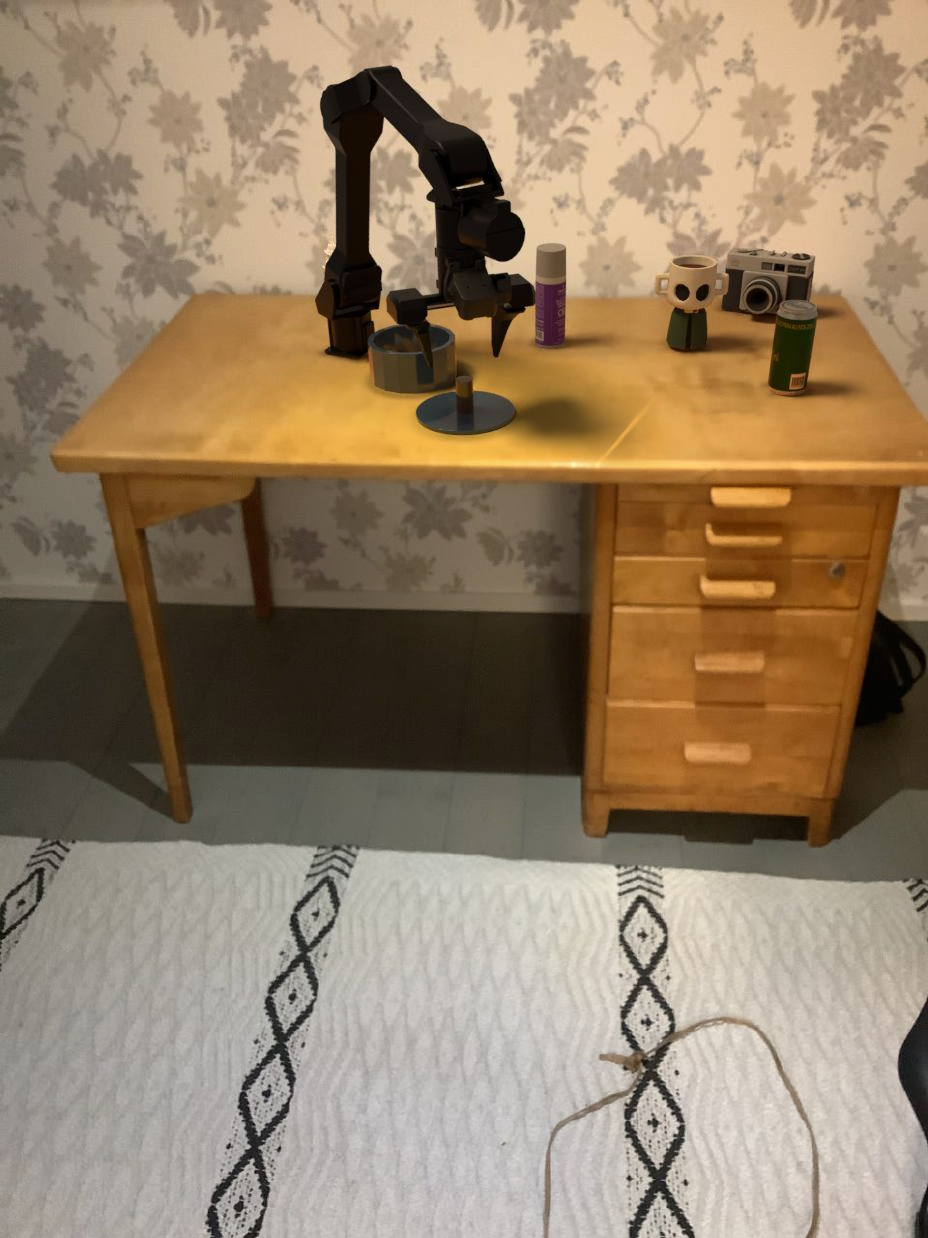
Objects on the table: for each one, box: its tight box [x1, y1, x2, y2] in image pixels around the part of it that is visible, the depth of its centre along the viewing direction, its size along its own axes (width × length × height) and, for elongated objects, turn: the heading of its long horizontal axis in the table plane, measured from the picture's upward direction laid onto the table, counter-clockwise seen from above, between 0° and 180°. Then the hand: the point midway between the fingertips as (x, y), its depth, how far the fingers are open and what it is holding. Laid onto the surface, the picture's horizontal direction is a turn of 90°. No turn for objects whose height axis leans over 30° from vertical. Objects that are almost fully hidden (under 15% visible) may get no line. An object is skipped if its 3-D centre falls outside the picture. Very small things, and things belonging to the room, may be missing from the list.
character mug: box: [653, 254, 729, 350], centre depth 166 cm, size 11×7×13 cm, turn 84°
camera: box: [721, 247, 816, 318], centre depth 177 cm, size 14×9×10 cm, turn 55°
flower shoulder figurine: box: [322, 235, 336, 275], centre depth 185 cm, size 9×4×12 cm, turn 171°
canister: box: [367, 323, 458, 395], centre depth 160 cm, size 13×13×6 cm
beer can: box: [767, 300, 819, 397], centre depth 151 cm, size 5×5×12 cm
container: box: [534, 242, 567, 350], centre depth 168 cm, size 5×5×15 cm
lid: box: [415, 375, 516, 436], centre depth 149 cm, size 14×14×6 cm
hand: (463, 361), depth 146 cm, fingers open, 9 cm apart
